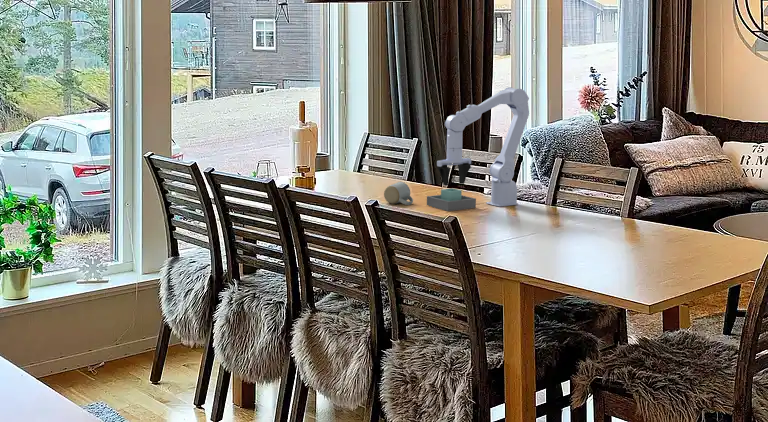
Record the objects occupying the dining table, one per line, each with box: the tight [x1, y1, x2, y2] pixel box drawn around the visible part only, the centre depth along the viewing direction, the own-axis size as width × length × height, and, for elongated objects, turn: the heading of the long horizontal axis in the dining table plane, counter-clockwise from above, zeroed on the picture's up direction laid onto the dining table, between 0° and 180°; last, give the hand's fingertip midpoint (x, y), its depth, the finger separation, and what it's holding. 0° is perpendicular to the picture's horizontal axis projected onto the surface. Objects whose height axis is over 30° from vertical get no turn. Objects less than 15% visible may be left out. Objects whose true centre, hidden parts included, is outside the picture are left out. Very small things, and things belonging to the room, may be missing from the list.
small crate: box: [440, 187, 463, 201], centre depth 351 cm, size 5×5×6 cm
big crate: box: [426, 194, 477, 212], centre depth 352 cm, size 13×13×4 cm
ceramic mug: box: [383, 181, 414, 206], centre depth 357 cm, size 11×8×8 cm
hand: (453, 184), depth 351 cm, fingers open, 7 cm apart
